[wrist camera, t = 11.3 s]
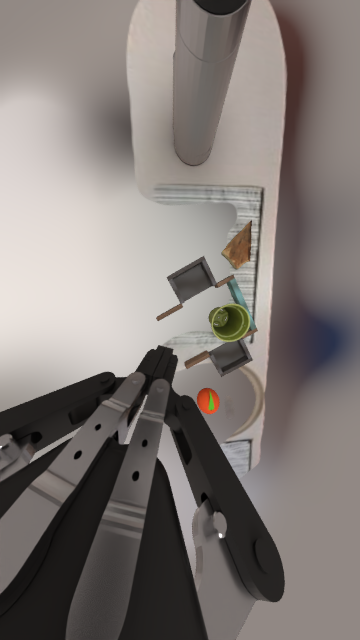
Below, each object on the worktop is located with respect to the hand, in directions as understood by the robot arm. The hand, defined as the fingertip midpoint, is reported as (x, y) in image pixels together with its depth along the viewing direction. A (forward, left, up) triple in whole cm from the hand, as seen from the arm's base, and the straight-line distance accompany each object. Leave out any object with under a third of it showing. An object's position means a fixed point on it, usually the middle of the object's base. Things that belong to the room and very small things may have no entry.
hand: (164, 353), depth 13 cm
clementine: (+29, -2, -26) cm, 39 cm away
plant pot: (+8, +13, -26) cm, 30 cm away
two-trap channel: (+8, +9, -26) cm, 28 cm away
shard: (-8, +26, -27) cm, 38 cm away
